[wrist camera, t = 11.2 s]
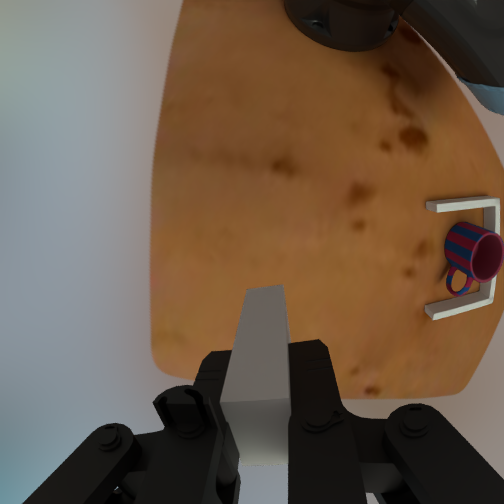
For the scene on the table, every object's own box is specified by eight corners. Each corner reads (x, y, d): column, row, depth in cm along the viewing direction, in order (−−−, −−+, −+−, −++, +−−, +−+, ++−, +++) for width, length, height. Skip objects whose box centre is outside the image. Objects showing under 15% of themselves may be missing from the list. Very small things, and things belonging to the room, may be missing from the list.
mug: (483, 241, 34) (510, 253, 27) (446, 292, 36) (469, 311, 30) (462, 212, 33) (490, 220, 27) (422, 266, 36) (445, 284, 29)
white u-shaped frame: (425, 201, 33) (436, 204, 30) (487, 195, 32) (499, 198, 29) (424, 311, 37) (433, 320, 34) (482, 295, 36) (492, 302, 33)
